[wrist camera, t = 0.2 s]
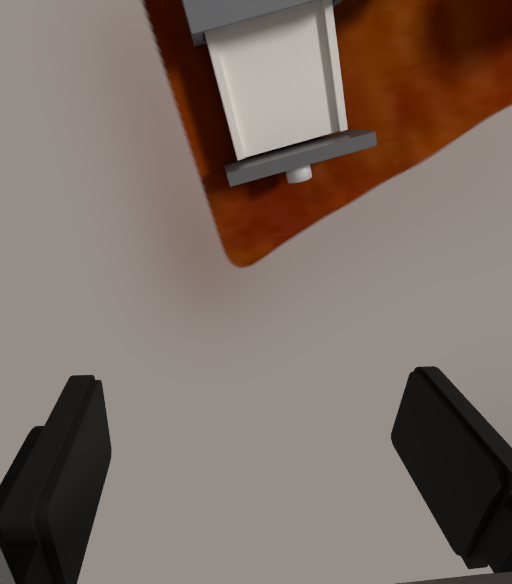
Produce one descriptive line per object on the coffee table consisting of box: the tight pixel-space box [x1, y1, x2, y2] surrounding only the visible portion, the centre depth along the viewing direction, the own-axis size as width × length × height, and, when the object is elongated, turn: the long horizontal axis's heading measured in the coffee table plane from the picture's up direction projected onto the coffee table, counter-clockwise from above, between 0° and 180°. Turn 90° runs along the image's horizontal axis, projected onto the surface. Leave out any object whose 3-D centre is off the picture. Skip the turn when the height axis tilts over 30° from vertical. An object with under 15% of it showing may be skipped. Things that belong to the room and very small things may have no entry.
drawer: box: [204, 0, 377, 187], centre depth 32 cm, size 16×14×5 cm
